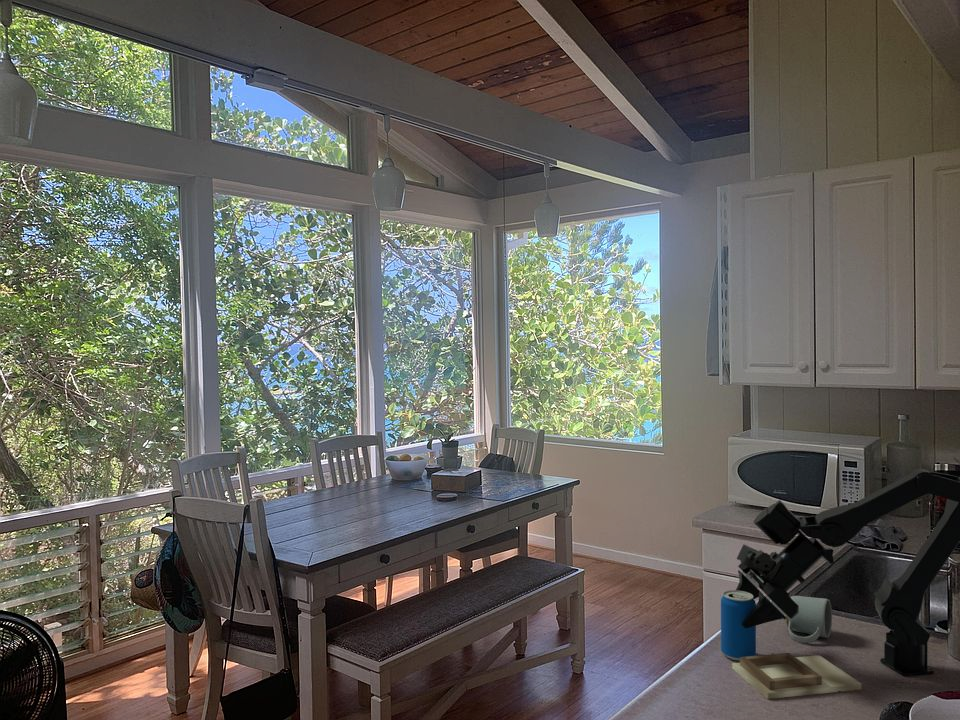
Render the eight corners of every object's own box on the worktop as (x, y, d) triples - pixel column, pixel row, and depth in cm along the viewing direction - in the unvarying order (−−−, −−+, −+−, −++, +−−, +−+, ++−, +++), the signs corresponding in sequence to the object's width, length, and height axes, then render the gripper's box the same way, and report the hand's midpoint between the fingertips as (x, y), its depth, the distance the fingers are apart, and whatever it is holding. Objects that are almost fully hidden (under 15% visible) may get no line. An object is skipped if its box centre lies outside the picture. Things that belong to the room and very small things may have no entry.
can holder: (818, 660, 142) (819, 647, 141) (861, 689, 130) (861, 675, 130) (732, 668, 138) (732, 655, 138) (767, 698, 127) (767, 684, 127)
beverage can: (728, 646, 149) (728, 587, 148) (760, 654, 145) (760, 593, 144) (715, 656, 144) (715, 596, 143) (749, 665, 140) (748, 603, 139)
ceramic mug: (791, 622, 160) (791, 587, 160) (832, 630, 156) (832, 595, 155) (779, 640, 152) (779, 603, 151) (823, 649, 147) (822, 611, 147)
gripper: (748, 520, 153) (694, 573, 153) (781, 546, 134) (720, 605, 135) (786, 558, 152) (732, 610, 153) (825, 589, 134) (763, 648, 135)
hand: (735, 617), depth 144 cm, fingers open, 9 cm apart
